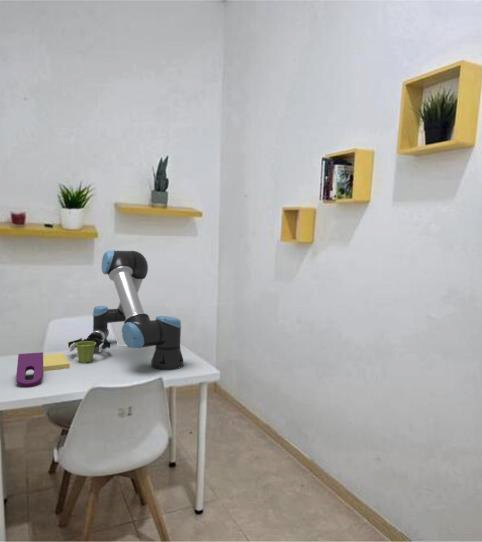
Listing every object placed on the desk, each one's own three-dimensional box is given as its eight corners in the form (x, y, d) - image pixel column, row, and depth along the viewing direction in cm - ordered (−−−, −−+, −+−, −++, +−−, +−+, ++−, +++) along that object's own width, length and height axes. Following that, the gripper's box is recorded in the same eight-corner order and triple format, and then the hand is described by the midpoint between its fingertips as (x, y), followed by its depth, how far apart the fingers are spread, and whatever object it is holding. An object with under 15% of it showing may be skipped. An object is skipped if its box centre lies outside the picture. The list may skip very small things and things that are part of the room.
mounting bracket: (42, 397, 170) (43, 367, 185) (42, 382, 167) (43, 352, 181) (15, 400, 167) (19, 369, 181) (15, 384, 163) (18, 353, 177)
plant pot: (78, 358, 206) (78, 340, 206) (98, 358, 207) (98, 341, 206) (72, 363, 197) (72, 345, 196) (93, 364, 198) (93, 346, 197)
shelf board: (69, 367, 191) (69, 363, 191) (40, 371, 184) (40, 366, 184) (62, 356, 208) (62, 352, 208) (35, 359, 202) (35, 355, 201)
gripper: (119, 345, 224) (111, 356, 203) (71, 345, 222) (58, 356, 201) (120, 332, 224) (111, 341, 203) (71, 331, 221) (58, 341, 200)
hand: (85, 349), depth 202 cm, fingers open, 13 cm apart
